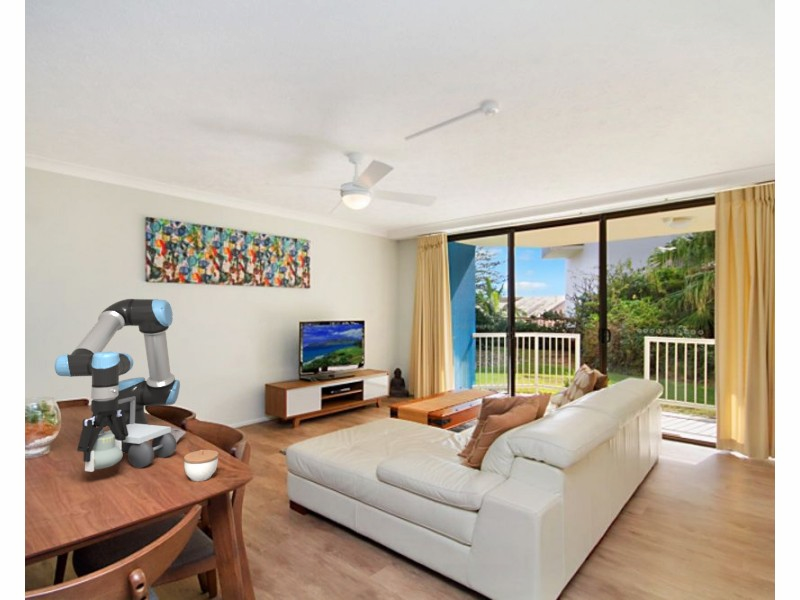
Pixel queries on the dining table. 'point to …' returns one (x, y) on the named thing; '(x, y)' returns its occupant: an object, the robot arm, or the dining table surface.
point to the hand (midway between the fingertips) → (103, 464)
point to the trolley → (145, 439)
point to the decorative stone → (177, 433)
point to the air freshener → (106, 451)
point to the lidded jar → (201, 464)
